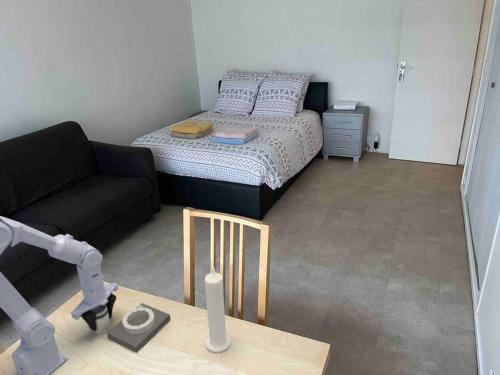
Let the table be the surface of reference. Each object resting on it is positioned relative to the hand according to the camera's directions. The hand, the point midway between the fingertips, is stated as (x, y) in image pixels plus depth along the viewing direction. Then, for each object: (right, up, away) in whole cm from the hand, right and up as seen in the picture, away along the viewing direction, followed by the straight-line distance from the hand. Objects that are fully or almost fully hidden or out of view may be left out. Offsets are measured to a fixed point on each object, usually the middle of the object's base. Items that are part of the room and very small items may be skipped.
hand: (101, 323), depth 110 cm
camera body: (+11, -2, 0) cm, 11 cm away
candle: (+34, -4, -5) cm, 35 cm away
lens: (0, -2, +1) cm, 2 cm away
